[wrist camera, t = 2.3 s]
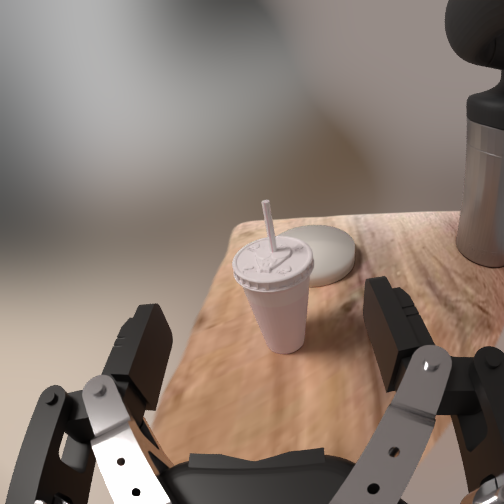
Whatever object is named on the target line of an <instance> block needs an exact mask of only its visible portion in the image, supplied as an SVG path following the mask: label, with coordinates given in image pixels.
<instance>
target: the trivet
mask: <svg viewBox="0 0 504 504" xmlns="http://www.w3.org/2000/svg"><path fill="white" fill-rule="evenodd" d="M278 236H289V237H294V238H297V239H300V240H302V241H304V242H306V243H307V244H308V245H309V246H310V247H311V249H312V251H313V259H314V269H313V271H312V273H311V275H310V282H309V287H319V286H325V285H328V284H331V283H334V282H336V281H338V280H340V279H342V278H343V277H345V276H346V275H347V274H348V273H349V272H350V271H351V270H352V268H353V266H354V262H355V243H354V241H353V239H352V237H351V236H350V235H349V234H347V233H346V232H344V231H343V230H340V229H338V228H335V227H331V226H325V225H307V226H301V227H296V228H293V229H290V230H287V231H285V232H283V233H281V234H279V235H278Z"/></svg>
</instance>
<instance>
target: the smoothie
mask: <svg viewBox="0 0 504 504" xmlns="http://www.w3.org/2000/svg"><path fill="white" fill-rule="evenodd" d="M262 207H263V212H264V218H265V224H266V230H267V236H268V237H266V238H262V239H259V240H256V241H253V242H251V243H249V244H247V245H246V246H244V247H243V248H241V249H240V250H239V251H238V252H237V253H236V255H235V256H234V258H233V262H232V266H233V270H234V277H235V279H236V281H237V283H239V284H240V285H241V286H242V287H243V289H244V292H245V294H246V296H247V299H248V301H249V303H250V306H251V308H252V310H253V313H254V315H255V318H256V320H257V322H258V325H259V327H260V329H261V332H262V334H263V336H264V339H265V341H266V344H267V346H268V347H269V349H270V350H272V351H273V352H275V353H278V354H289V353H292V352H295V351H296V350H298V349H299V348H300V347H301V346H302V345H303V343H304V339H305V329H306V318H307V306H308V294H309V282H310V275H311V273H312V271H313V269H314V259H313V251H312V249H311V247H310V246H309V245H308V244H307V243H306V242H304V241H302V240H300V239H297V238H294V237H289V236H275V233H274V227H273V221H272V214H271V208H270V202H269V200H263V201H262Z"/></svg>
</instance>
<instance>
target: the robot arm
mask: <svg viewBox="0 0 504 504" xmlns="http://www.w3.org/2000/svg"><path fill="white" fill-rule="evenodd" d="M445 30H446V35H447V38H448V41H449V43H450V45H451V47H452V49H453V50H454V51H455V53H456V54H457V55H458V56H459V57H460V58H462V59H463V60H465V61H467V62H469V63H472V64H475V65H480V66H485V67H490V68H495V69H500V70H502V71H501V80H500V82H499V83H498V85H496V86H495V87H493V88H492V89H490V90H487V91H484V92H481V93H477V94H473V95H471V96H469V97H468V99H467V106H466V107H467V144H466V164H465V178H464V188H463V197H462V205H461V212H460V219H459V225H458V231H457V237H456V245H457V248H458V249H459V251H460V252H461V253H462V254H463V255H464V256H465V257H467V258H468V259H470V260H471V261H473V262H475V263H478V264H480V265H484V266H489V267H500V266H504V0H449V1H448V4H447V7H446V13H445ZM363 316H364V322H365V326H366V329H367V332H368V335H369V338H370V341H371V344H372V347H373V350H374V353H375V356H376V360H377V363H378V366H379V369H380V372H381V376H382V379H383V382H384V386H385V389H386V393H387V392H391V391H396V394H395V396H394V398H393V400H392V402H391V404H390V405H389V406H388V408H387V410H386V412H385V414H384V416H383V418H382V419H381V421H380V423H379V425H378V427H377V429H376V431H375V432H374V434H373V436H372V438H371V439H370V441H369V443H368V445H367V446H366V448H365V450H364V451H363V453H362V455H361V456H360V458H359V460H358V461H357V463H356V464H355V463H353V462H351V461H349V460H347V459H343V458H340V457H336V456H330V455H324V448H317V449H309V450H301V451H291V452H287V453H284V454H280V455H277V456H274V457H270V458H267V459H263V460H259V461H248V460H244V459H239V458H234V457H230V456H226V455H222V454H192V453H190V457H189V461H187V462H183V463H180V464H177V465H175V466H174V464H173V463H172V462H171V461H170V460H169V458H168V457H167V456H166V454H165V453H164V451H163V450H162V448H161V446H160V445H159V443H158V441H157V439H156V438H155V436H154V434H153V432H152V430H151V429H150V427H149V425H148V423H147V421H146V419H145V418H144V417H143V416H144V412H145V410H153V411H156V407H157V403H158V398H159V394H160V390H161V386H162V382H163V378H164V374H165V370H166V366H167V363H168V359H169V355H170V351H171V348H172V343H173V338H172V332H171V329H170V327H169V325H168V323H167V321H166V319H165V316H164V314H163V312H162V310H161V308H160V306H159V305H158V304H146V305H139V306H138V308H137V310H136V313H135V315H134V317H133V318H129V319H128V321H127V322H126V323H125V324H124V325H123V326H122V327H121V330H120V332H119V334H118V336H117V337H118V338H117V339H116V341H115V343H114V347H113V348H112V350H111V353H110V356H109V357H108V360H107V362H106V365H105V367H104V369H103V372H102V374H101V375H99V376H96V377H93V378H92V379H91V380H89V381H88V382H87V384H86V385H85V387H84V388H83V390H80V391H75V392H71V393H67V392H66V391H65V390H64V389H63V388H62V387H61V386H58V385H53V386H50V387H48V388H47V389H45V390H44V391H43V392H42V394H41V395H40V398H39V400H38V402H37V405H36V407H35V410H34V413H33V415H32V418H31V420H30V423H29V426H28V429H27V432H26V434H25V437H24V440H23V443H22V446H21V449H20V452H19V455H18V459H17V462H16V465H15V469H14V472H13V475H12V479H11V483H10V487H9V490H8V494H7V499H6V503H5V504H87V503H88V498H89V492H90V487H91V482H92V476H93V472H94V467H95V462H96V459H97V462H98V465H99V467H100V470H101V472H102V474H103V477H104V479H105V481H106V484H107V486H108V489H109V491H110V493H111V495H112V497H113V500H114V501H115V504H407V503H406V502H405V501H403V500H402V499H401V496H402V494H403V492H404V490H405V488H406V487H407V485H408V483H409V481H410V479H411V477H412V475H413V473H414V471H415V469H416V467H417V465H418V463H419V461H420V458H421V456H422V454H423V452H424V450H425V447H426V445H427V443H428V440H429V438H430V435H431V433H432V430H433V428H434V425H435V421H436V419H435V416H436V415H451V418H452V422H453V426H454V429H455V433H456V436H457V441H458V444H459V449H460V453H461V457H462V461H463V465H464V470H465V475H466V480H467V485H468V491H469V494H467V495H466V496H465V497H464V498H463V500H462V501H461V503H460V504H504V353H503V352H502V351H501V350H499V349H497V348H495V347H491V346H487V347H483V348H481V349H479V350H478V351H477V353H476V354H475V356H474V357H452V356H450V355H449V354H448V352H447V351H446V350H444V349H443V348H441V347H439V346H435V344H434V342H433V340H432V338H431V336H430V334H429V332H428V330H427V328H426V326H425V324H424V322H423V320H422V318H421V316H420V315H419V312H418V310H417V309H416V307H415V306H414V303H413V301H412V299H411V297H410V296H409V294H407V293H406V292H405V291H404V290H402V289H401V288H400V287H398V288H392V287H391V285H390V283H389V281H388V279H387V278H386V277H385V276H382V277H376V278H369V279H366V281H365V291H364V305H363ZM64 432H65V433H66V434H68V437H67V440H66V444H65V448H64V451H63V455H62V458H61V459H60V457H59V448H60V444H61V441H62V438H63V434H64Z"/></svg>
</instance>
